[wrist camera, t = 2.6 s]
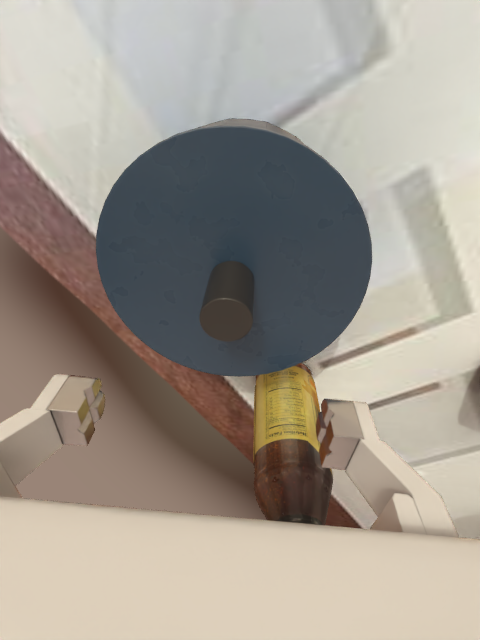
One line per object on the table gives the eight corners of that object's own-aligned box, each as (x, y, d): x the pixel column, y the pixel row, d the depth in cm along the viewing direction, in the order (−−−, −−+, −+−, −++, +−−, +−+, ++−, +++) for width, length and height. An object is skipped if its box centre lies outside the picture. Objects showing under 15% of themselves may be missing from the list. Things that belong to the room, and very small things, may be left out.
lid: (78, 107, 16) (12, 118, 12) (409, 138, 16) (462, 160, 12) (122, 354, 25) (93, 410, 21) (330, 374, 25) (344, 434, 21)
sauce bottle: (301, 399, 38) (330, 631, 22) (248, 388, 38) (238, 619, 22) (322, 358, 35) (376, 602, 18) (264, 345, 34) (266, 586, 18)
